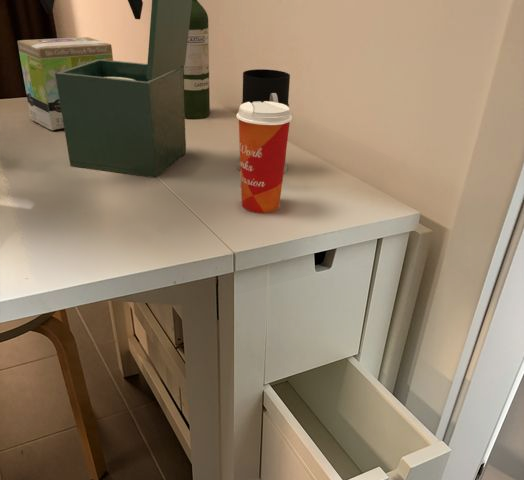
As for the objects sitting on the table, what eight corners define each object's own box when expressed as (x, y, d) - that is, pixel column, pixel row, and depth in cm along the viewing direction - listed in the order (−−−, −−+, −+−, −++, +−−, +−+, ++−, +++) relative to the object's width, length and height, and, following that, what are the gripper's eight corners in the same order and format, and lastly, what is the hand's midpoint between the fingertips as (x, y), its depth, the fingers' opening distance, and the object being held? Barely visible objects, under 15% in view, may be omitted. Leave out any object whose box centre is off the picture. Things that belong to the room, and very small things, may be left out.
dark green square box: (70, 166, 93) (54, 73, 85) (108, 143, 104) (98, 59, 96) (156, 178, 91) (149, 83, 82) (186, 153, 101) (182, 67, 93)
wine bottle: (196, 121, 119) (191, -51, 101) (166, 115, 122) (156, -53, 104) (216, 113, 125) (215, -51, 107) (188, 108, 128) (182, -53, 110)
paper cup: (228, 198, 85) (228, 101, 76) (274, 193, 87) (280, 98, 79) (245, 218, 79) (248, 115, 71) (294, 213, 81) (302, 112, 73)
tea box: (52, 132, 108) (37, 47, 99) (30, 120, 114) (14, 39, 105) (120, 121, 117) (112, 41, 108) (96, 110, 122) (86, 34, 113)
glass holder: (282, 159, 101) (288, 68, 92) (298, 188, 90) (306, 88, 81) (234, 160, 100) (235, 68, 91) (245, 189, 88) (247, 87, 79)
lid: (155, -56, 72) (162, -54, 72) (193, -55, 82) (198, -54, 82) (146, 78, 82) (151, 80, 82) (180, 63, 92) (185, 65, 92)
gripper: (-88, -113, 62) (10, 25, 83) (128, -103, 60) (172, 36, 81) (-74, -170, 63) (19, -20, 84) (139, -162, 61) (180, -10, 82)
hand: (95, 8), depth 82 cm, fingers open, 13 cm apart
